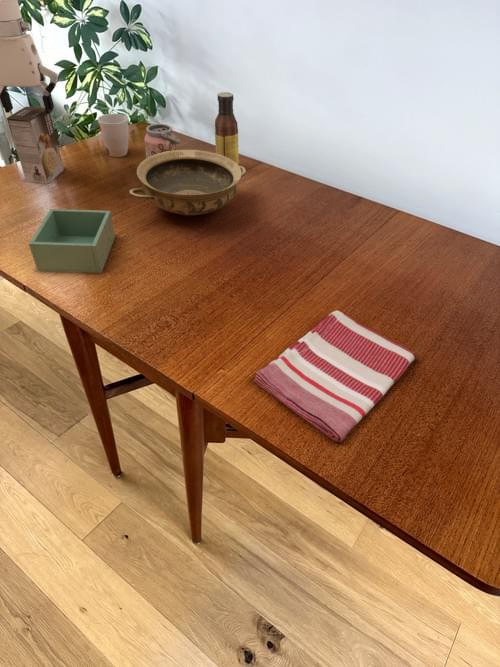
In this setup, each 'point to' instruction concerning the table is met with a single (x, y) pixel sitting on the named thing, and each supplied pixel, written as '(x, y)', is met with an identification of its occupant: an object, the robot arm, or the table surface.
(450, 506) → the table surface
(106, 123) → the cup
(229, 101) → the sauce bottle
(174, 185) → the ceramic bowl
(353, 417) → the dish towel
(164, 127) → the pink jar
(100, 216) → the bin
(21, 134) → the coffee box
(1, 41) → the robot arm
